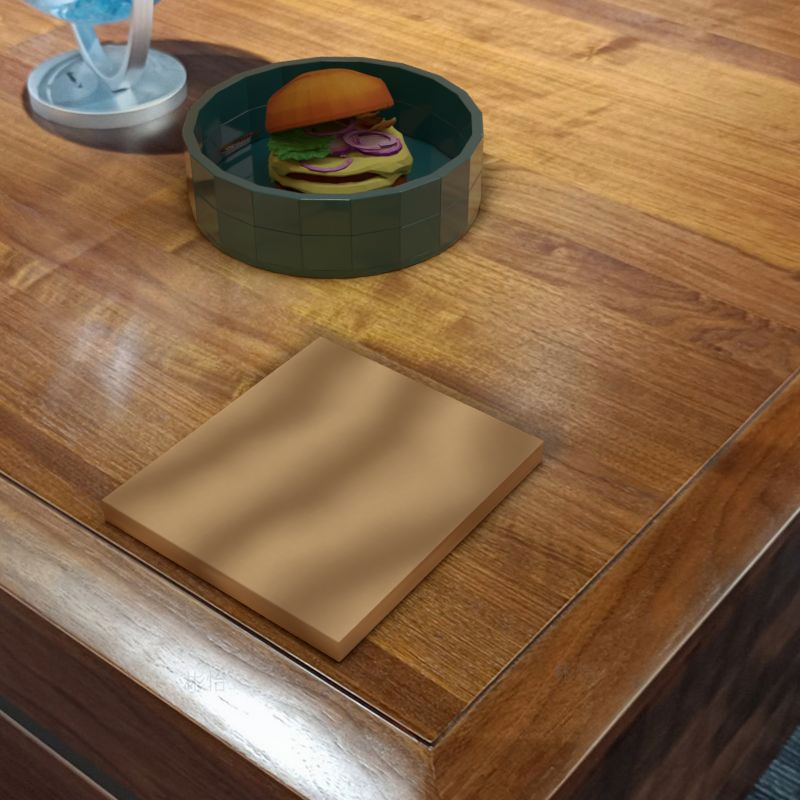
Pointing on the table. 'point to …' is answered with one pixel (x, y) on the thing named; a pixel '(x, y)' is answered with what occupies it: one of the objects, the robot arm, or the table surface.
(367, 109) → the cheeseburger
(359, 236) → the bowl
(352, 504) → the board
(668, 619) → the table surface
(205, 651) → the table surface
